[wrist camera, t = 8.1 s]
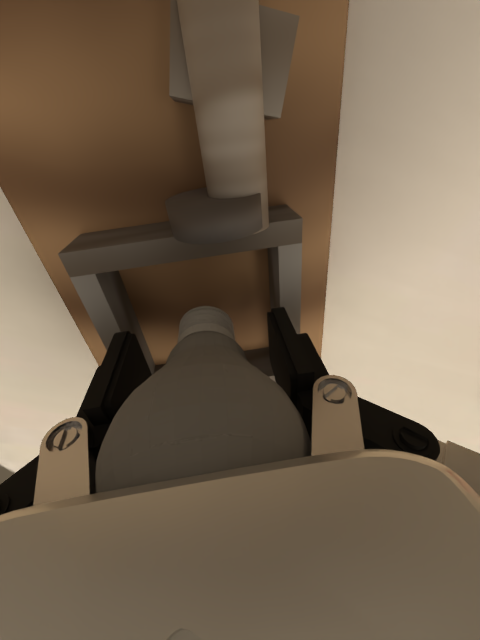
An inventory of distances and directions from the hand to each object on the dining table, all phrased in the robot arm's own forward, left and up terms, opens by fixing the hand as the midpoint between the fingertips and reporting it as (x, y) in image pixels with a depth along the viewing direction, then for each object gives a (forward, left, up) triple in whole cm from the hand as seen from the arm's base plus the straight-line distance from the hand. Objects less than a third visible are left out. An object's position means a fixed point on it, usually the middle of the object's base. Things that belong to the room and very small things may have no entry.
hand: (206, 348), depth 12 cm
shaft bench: (0, 0, -5) cm, 5 cm away
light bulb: (0, 0, -2) cm, 2 cm away
